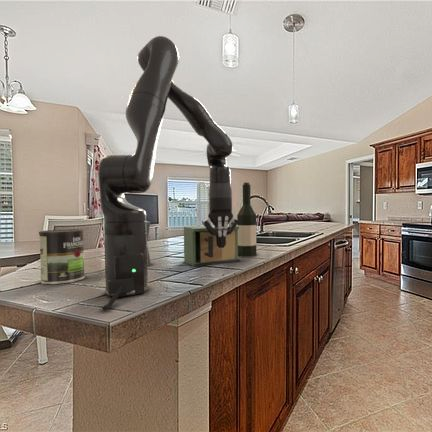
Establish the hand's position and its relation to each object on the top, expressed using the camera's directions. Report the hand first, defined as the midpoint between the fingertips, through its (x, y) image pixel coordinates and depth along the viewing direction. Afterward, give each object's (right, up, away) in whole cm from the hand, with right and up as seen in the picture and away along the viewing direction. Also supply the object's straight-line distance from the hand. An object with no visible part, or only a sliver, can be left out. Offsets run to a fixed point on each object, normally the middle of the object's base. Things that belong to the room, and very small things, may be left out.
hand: (221, 247), depth 110 cm
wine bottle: (+6, -6, +25) cm, 26 cm away
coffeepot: (-31, -7, +3) cm, 31 cm away
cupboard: (-6, -6, +10) cm, 13 cm away
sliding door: (-3, -5, +1) cm, 6 cm away
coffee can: (-41, -8, -19) cm, 46 cm away
